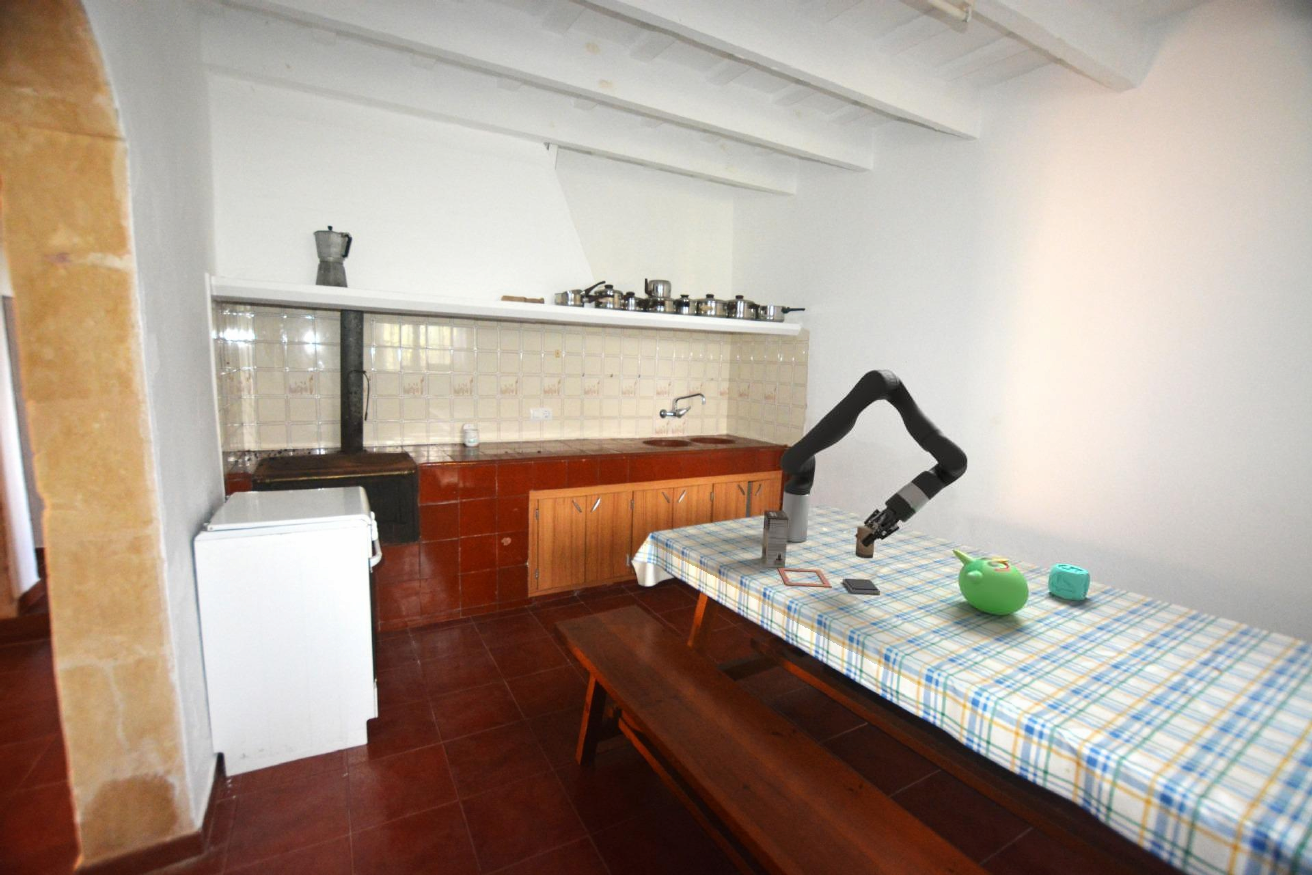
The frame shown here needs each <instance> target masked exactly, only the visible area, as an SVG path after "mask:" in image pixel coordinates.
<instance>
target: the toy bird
mask: <svg viewBox="0 0 1312 875" xmlns="http://www.w3.org/2000/svg"><path fill="white" fill-rule="evenodd" d="M952 552H953V554H954V555H955V557H956V558H957V559H958V560H959V561H960V562H961V564H963V565H962V567H961V568H960V570H959V574H958V578H957V580H958V587H959V590H960V593H961V594H962V596H963V597H964V599H965V600H966V601H967V603H969V604H970V605H971V606H972V607H974V608H976V609H977V610H979V611H981V612H984V613H988V614H990V615H999V616H1002V615H1004V616H1006V615H1010V614H1011V615H1012V614H1014V613H1017V612H1019V611H1020V610H1021V609H1023V607H1025V605H1026V604H1027V602H1028V601H1029V600H1028V599H1029V593H1030V592H1029V585H1028V581H1027V580H1026V578H1025V576H1024V575H1023V573H1022V572H1021V571H1020V570H1019V569H1018V568H1017V567H1016V566H1014V565H1013V564H1011V563H1010V561H1011V559H1008V558H995V557H994V558H993V557H977V558H974V557H972V556H970V555H968V554H967V553H964V552H962V551H960V550H958V549H953V550H952Z"/></svg>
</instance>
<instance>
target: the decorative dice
mask: <svg viewBox="0 0 1312 875" xmlns="http://www.w3.org/2000/svg"><path fill="white" fill-rule="evenodd" d="M1047 580H1048V581H1047V582H1048V583H1047V587H1048V590H1049V591H1050V593H1051V594H1052V595H1053V596H1056V597H1058V598H1061V599H1064V600H1069V601H1076V602H1077V601H1083V600H1085V599H1086V598H1087V595H1088V593H1089V592H1088V591H1089V589H1090V582H1091V576H1090V573H1089V572H1088V571H1087V570H1086V569H1085V568H1082V567H1079V566H1076V565H1072V564H1067V563H1066V564H1065V563H1057V564H1055V565H1053V566H1052V568H1051V570H1050V573H1049V575H1048V579H1047Z"/></svg>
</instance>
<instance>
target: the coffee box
mask: <svg viewBox="0 0 1312 875" xmlns="http://www.w3.org/2000/svg"><path fill="white" fill-rule="evenodd" d="M763 515H764V517H763V528H762V532H763V533H762V542H761V544H762V546H761V558H762V561H763V564H764V565H765V567H767V568H786V556H787V545H788V541H787V535H788V522H789V518H788V517H787V515H786V514H785V512H784V511H783V510H771V509H770V510H766V509H764V514H763Z"/></svg>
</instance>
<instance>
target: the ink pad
mask: <svg viewBox="0 0 1312 875" xmlns="http://www.w3.org/2000/svg"><path fill="white" fill-rule="evenodd" d="M842 583H843V585H844V586H845V587H846V589H847V590H848V591H849V593H850V594H863V595H864V594H865V595H880V594H881V590H880V589H879V588H878V587H877V586H876V584H874V582H872V580H871V579H862V578H861V579H860V578H842Z"/></svg>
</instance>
